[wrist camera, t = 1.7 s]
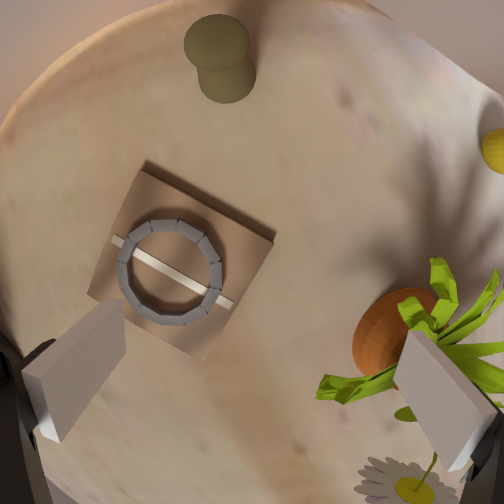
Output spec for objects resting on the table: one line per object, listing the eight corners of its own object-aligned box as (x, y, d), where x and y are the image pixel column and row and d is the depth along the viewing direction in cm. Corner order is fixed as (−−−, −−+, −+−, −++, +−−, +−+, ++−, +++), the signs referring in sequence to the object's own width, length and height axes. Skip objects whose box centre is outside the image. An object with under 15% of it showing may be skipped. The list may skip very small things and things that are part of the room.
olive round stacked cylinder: (215, 113, 31) (196, 82, 20) (189, 70, 30) (161, 27, 19) (266, 87, 30) (269, 45, 19) (238, 45, 29) (230, -8, 18)
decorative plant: (279, 387, 37) (295, 569, 13) (354, 202, 33) (536, 249, 8) (436, 412, 39) (507, 524, 14) (508, 272, 34) (636, 338, 9)
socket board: (91, 290, 35) (81, 297, 33) (143, 169, 32) (135, 169, 30) (204, 356, 37) (201, 367, 34) (273, 241, 34) (274, 246, 31)
